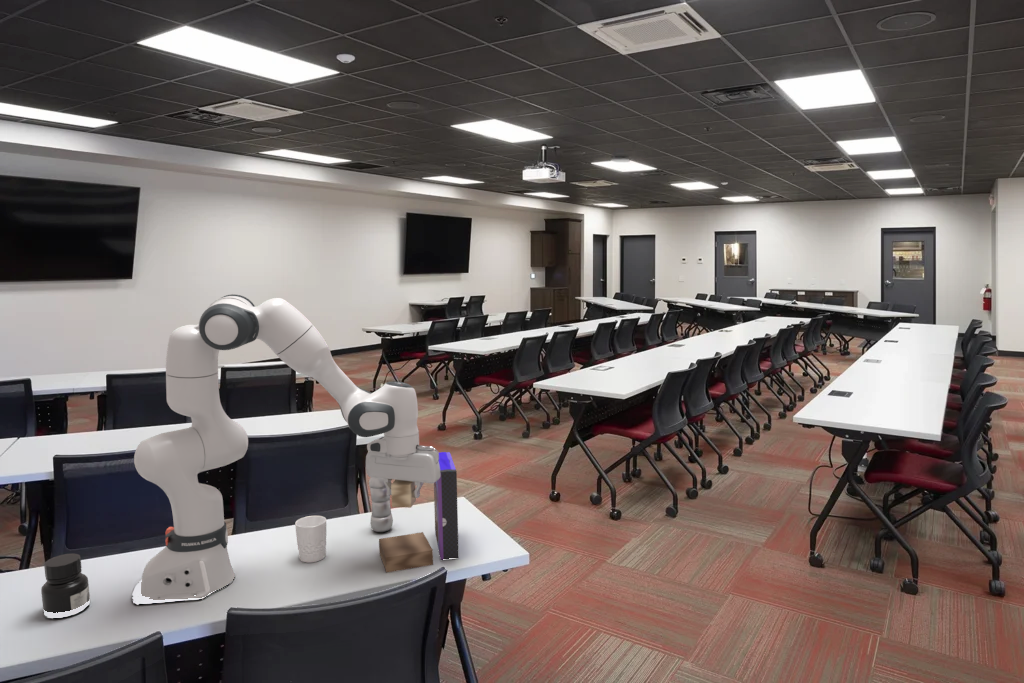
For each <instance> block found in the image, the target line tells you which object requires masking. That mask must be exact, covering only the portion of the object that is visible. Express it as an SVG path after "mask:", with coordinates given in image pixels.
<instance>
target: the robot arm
mask: <svg viewBox="0 0 1024 683" xmlns="http://www.w3.org/2000/svg"><path fill="white" fill-rule="evenodd" d="M255 340H260V341H261V342H263V343H264V344H265V345H266V346H268V348H269V349H271V351H272V352H273V353H274V354H275V355H276V357H278V358H279V359H280V360H281V361H282V362H283V363H284V364H285V365H287V366H288V367H289V368H291V369H292V370H294V371H295V372H296V373H298V374H301V375H304V376H308V377H309V378H312V379H314V380H315V381H317V382H318V383H319V384H320V385H321V386H322V387H323V388H324V390H325V391H327V393H329V395H330V396H331V397H332V398H333V399H334V400H335V402H337V404H338V405H339V408H340V412H341V415H342V418H343V420H344V421H345V422H346V424H347V425H348V428H349V429H350V431H351V432H352V433H353V434H355V435H356V436H358V437H362V438H370V437H374V436H379V435H382V434H383V436H381V437H379V438H377V439H373V440H372V441H369V442H368V443H367V444H366V449H367V451H368V452H367V453H366V456H365V473H366V475H367V476H368V477H369V478H371V477H374V478H383V482H384V484H385V486H386V487H387V489H388V495H390V496H392V494H391V484H392V483H393V482H392V481H393V480H394V481H395V480H403V481H413V482H415V487H416V489H414V490H413V491H412V498H416V499H418V498H419V497H420V495H421V493H420V492H421V489H422V488H423V485H424V484H434V483H435V482H436V481H438V480H439V478H440V476H441V473H440V465H439V453H440V452H439V450H437V449H436V448H434V446H430V445H429V446H428V445H427V446H426V445H420V430H419V427H418V418H419V406H418V404H419V403H418V398H417V393H416V389H415V388H414V387H413V386H412V385H410V384H409V383H406V382H401V381H386V382H385V383H384V384H383V385H382V386H381V387H379V388H378V389H377V390H375V391H374V392H371V391H368V390H367V389H364V388H362V387H359V386H358V385H356V383H354V382H353V381H352V379H350V378H349V377H348V375H347V374H346V373H345V372H344V371H343V370H342V369H341V368H340V367H339V366H338V364H337V362H335V360H334V358H333V356H332V353H331V349H330V347H329V345H328V344H327V342H326V340H325V338H324V337H323V335H322V334H321V333H320V331H319V330H318V329H317V328H316V327H315V325H314V324H313V323H312V322H311V321H310V320H309V319H308V318H307V317H306V316H305V314H303V313H302V312H301V311H300V310H299V309H297V308H296V306H294V305H292V304H291V303H290V302H289V301H287V300H285V299H284V298H282V297H273V298H269V299H267V300H264V301H263V302H262V303H261V304H259V305H257V306H256V305H255V304H254V303H253V302H252V301H251V300H250V299H249V298H247V297H245V296H243V295H240V294H233V293H232V294H227V295H224V296H222V297H220V298H218V299H217V300H214V301H213V302H212V303H210V304H209V306H208V307H207V309H205V311H204V312H203V313H202V314H201V316H200V318H199V322H198V324H186V325H182V326H179V327H177V328H175V329H174V330H173V331H172V332H171V333H170V335H169V338H168V342H167V350H166V358H165V389H166V391H165V392H166V403H167V405H168V406H169V408H170V409H171V410H172V411H173V412H175V413H177V414H179V415H182V416H186V417H189V418H190V420H191V426H190V427H186V428H182V429H176V430H171V431H166V432H161V433H158V434H155V435H154V436H151V437H149V438H147V439H144V440H142V441H140V442H139V444H138V445H137V447H136V449H135V452H134V456H133V463H134V467H135V469H136V472H137V473H138V475H140V477H142V478H143V479H144V480H146V481H148V482H150V483H152V484H153V485H156V486H158V487H159V488H160V489H161V490H162V491H163V492H164V494H165V495H166V496H167V498H168V500H169V503H170V507H171V511H172V513H171V514H172V519H173V520H172V521H173V526H168V528H166V530H165V534H164V535H165V538H164V539H165V540H164V541H165V547H164V548H163V549H162V550H160V551H159V552H158V553H157V554H156V555H154V556H153V557H152V558H151V559H150V560H148V562H147V563H146V565H145V566H144V569H143V572H142V576H141V579H142V582H141V594H142V596H145V597H150V598H149V599H153V600H165V599H188V598H202V597H205V596H207V595H208V594H209V593H211V592H213V591H215V590H218V589H220V588H222V587H224V586H226V585H227V584H229V583H230V582H231V581H232V582H233V581H234V580H235V578H236V573H235V571H234V569H233V566H232V563H231V560H230V555H229V550H228V544H229V537H228V536H229V535H228V528H227V522H226V521H225V517H224V516H225V514H224V500H223V495H222V493H221V491H220V490H219V489H217V487H215V486H212V485H210V484H206V483H201V482H199V479H198V474H200V473H203V472H206V471H209V470H214V469H218V468H220V467H221V468H222V467H225V466H227V465H230V464H232V463H235V462H236V461H238V460H240V459H242V458H244V457H245V455H246V453H247V450H248V449H249V448H248V447H249V437H248V434H247V431H246V430H245V428H244V427H243V426H242V425H241V424H240V423H238V422H236V421H234V420H233V419H232V418H230V417H229V415H227V412H225V410H224V408H223V406H222V403H221V398H220V388H219V386H220V385H219V355H220V351H230V350H234V349H238V348H240V347H243V346H245V345H248V344H249V343H252V342H254V341H255ZM234 577H235V578H234ZM233 579H234V580H233ZM232 582H231V583H232ZM231 583H230V584H231ZM230 584H229V585H230ZM226 587H227V586H226ZM224 588H225V587H224ZM222 589H223V588H222ZM220 590H221V589H220ZM218 591H219V590H218ZM194 595H196V596H194Z"/></svg>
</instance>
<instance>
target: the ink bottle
mask: <svg viewBox="0 0 1024 683" xmlns="http://www.w3.org/2000/svg"><path fill="white" fill-rule="evenodd" d="M43 566H44V576H45V580H46V582H45V583H44V584H42V587H41V603H42V610H43V609H44V610H45V611H47V612H53V613H56V612H57V613H58V612H65V611H70V610H73V609H76V608H78V607H80V606H82V605H84V604H85V603H86V602H88V601H89V599H90V600H91V594H90V586H89V585H90V584H89V578H88V576H87V575H86V574H84V573H82V570H83V569H82V568H83V567H82V560H81V555H80V554H78V553H65V554H59V555H56V556H54V557H51V558H49V559H47V560H46V561H44V564H43Z"/></svg>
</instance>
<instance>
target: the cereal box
mask: <svg viewBox="0 0 1024 683" xmlns="http://www.w3.org/2000/svg"><path fill="white" fill-rule="evenodd" d="M439 465H440V473H441V476H440V478H439V480H438V481H436V482H435V483H433V497H434V499H433V502H434V504H433V505H434V534H435V540H436V544H437V548H438V550H439V551H438V555H440V556H439V560H442V561H444V560H443V559H449V558H459V554H460V553H459V523H458V522H459V521H458V518H459V516H458V481H457V479H458V477H457V476H458V474H457V469H456V466H455V463H454V460H453V456H452V454H451V452H450V451H447V452H446V451H441V452H439Z"/></svg>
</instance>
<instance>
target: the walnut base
mask: <svg viewBox="0 0 1024 683" xmlns="http://www.w3.org/2000/svg"><path fill="white" fill-rule="evenodd" d="M378 548H379V549H378V553H379V556H380V559H381V561H382V563H383V567H384V569H385V573H392V572H398V571H404V570H411V569H416V568H422V567H423V568H424V567H427V566H433V565H434V550H433V548H432V546H431V544H430V542H429V540H428V539H427V537H426V535H425V533H424V532H423V531H422V532H417V533H416V532H414V533H409V534H402V535H395V536H389V537H382V538H378Z"/></svg>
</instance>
